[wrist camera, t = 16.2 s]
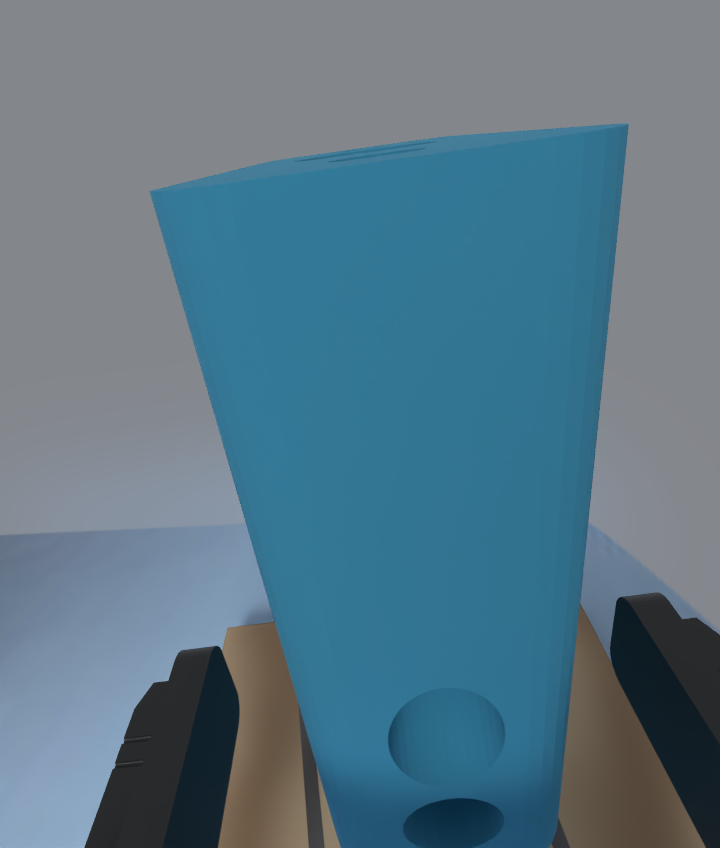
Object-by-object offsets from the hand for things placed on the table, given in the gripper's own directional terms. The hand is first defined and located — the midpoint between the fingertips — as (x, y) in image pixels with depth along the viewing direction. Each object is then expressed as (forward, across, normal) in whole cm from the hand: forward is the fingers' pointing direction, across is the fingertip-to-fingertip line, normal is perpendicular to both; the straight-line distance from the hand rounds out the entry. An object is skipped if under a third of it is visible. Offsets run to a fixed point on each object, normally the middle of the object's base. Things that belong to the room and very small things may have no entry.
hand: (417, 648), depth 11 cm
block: (+4, 0, +11) cm, 12 cm away
